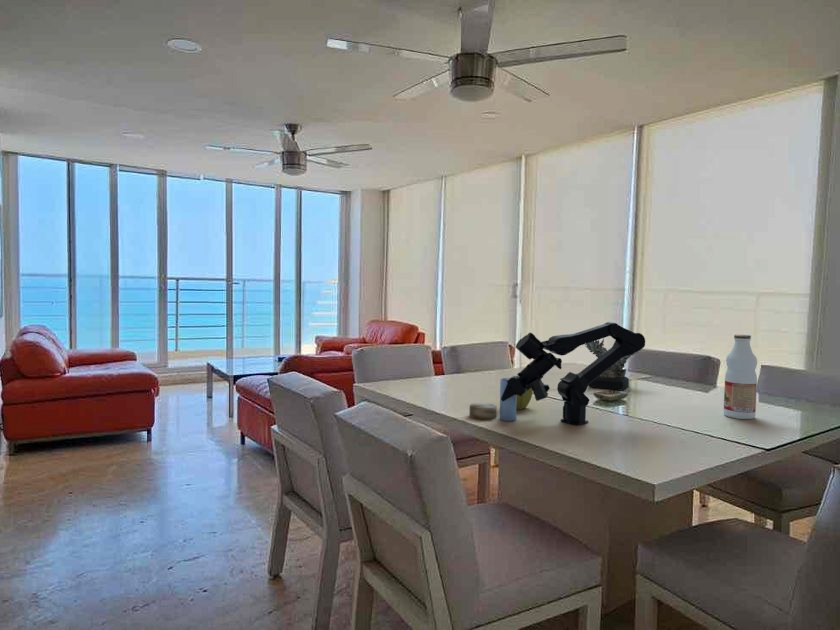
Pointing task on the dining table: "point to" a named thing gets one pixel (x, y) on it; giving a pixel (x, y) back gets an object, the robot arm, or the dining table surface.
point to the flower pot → (524, 399)
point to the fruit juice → (740, 380)
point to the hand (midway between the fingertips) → (504, 398)
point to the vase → (507, 403)
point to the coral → (609, 370)
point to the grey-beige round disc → (483, 411)
